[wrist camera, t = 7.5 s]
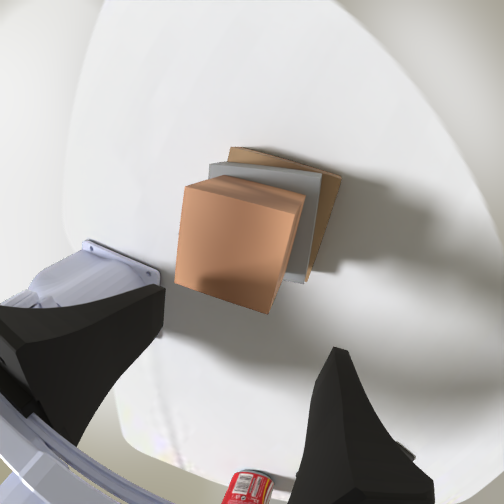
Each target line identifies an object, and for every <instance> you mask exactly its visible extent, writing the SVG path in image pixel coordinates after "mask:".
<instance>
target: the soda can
mask: <svg viewBox="0 0 504 504" xmlns="http://www.w3.org/2000/svg"><path fill="white" fill-rule="evenodd" d="M273 488H274V482H273V481H272V480H271V478H270V477H269V476H267V475H265V474H263V473H261V472H257V471H252V470H243V471H240V472H237V473H235V474H234V475H233V477H232V480H231V482H230V485H229V487H228V489H227V492H226V494H225V496H224V499H223V501H222V503H221V504H269V501H270V498H271V494H272V491H273Z"/></svg>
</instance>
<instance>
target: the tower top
mask: <svg viewBox="0 0 504 504" xmlns="http://www.w3.org/2000/svg"><path fill="white" fill-rule="evenodd" d="M222 175H227V176H231V177H236V178H240V179H244V180H249V181H253V182H257V183H261V184H265V185H269V186H273V187H277V188H281V189H284V190H288V191H292V192H296V193H299V194H303V195H306V197H305V201H304V205H303V209H302V213H301V216H300V220H299V224H298V228H297V232H296V235H295V239H294V243H293V247H292V250H291V254H290V258H289V261H288V265H287V269H286V272H285V275H284V277H283V280H284V281H290V282H295V283H300V284H304V282H305V278H306V274H307V270H308V265H309V259H310V253H311V247H312V241H313V235H314V229H315V222H316V216H317V209H318V202H319V195H320V187H321V180H322V173H316V172H310V171H303V170H296V169H288V168H281V167H273V166H264V165H256V164H246V163H236V162H219V163H214V164H209V178H208V179H211V178H215V177H218V176H222Z"/></svg>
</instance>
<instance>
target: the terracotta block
mask: <svg viewBox="0 0 504 504" xmlns="http://www.w3.org/2000/svg"><path fill="white" fill-rule="evenodd" d="M305 197H306V195H303V194H299V193H296V192H292V191H288V190H284V189H281V188H277V187H273V186H269V185H265V184H261V183H257V182H253V181H249V180H244V179H240V178H236V177H231V176H227V175H222V176H218V177H215V178H211V179H208V180H205V181H201V182H198V183H195V184H191V185H188V186H185V190H184V197H183V205H182V213H181V221H180V230H179V239H178V248H177V258H176V269H175V281H174V283H176V284H179V285H182V286H184V287H187V288H190V289H193V290H196V291H199V292H201V293H204V294H207V295H210V296H213V297H216V298H219V299H222V300H225V301H228V302H231V303H234V304H237V305H240V306H243V307H246V308H249V309H252V310H255V311H258V312H261V313H265V314H269V311H270V309H271V306H272V304H273V302H274V299H275V297H276V294H277V292H278V290H279V287H280V285H281V282H282V280H283V277H284V275H285V272H286V269H287V265H288V261H289V258H290V254H291V250H292V247H293V243H294V239H295V235H296V232H297V228H298V224H299V220H300V216H301V213H302V209H303V205H304V201H305Z"/></svg>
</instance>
